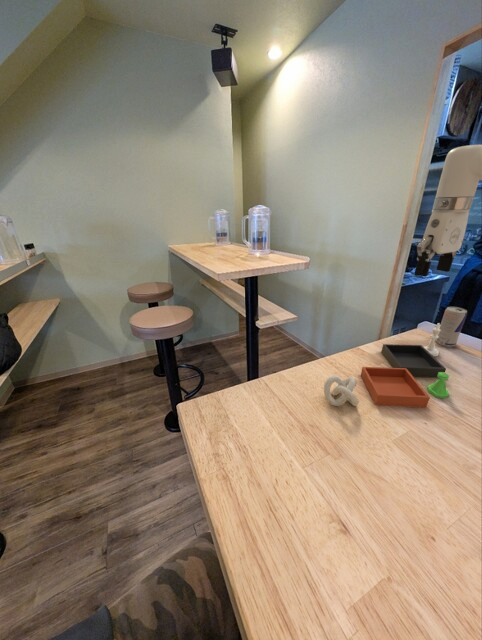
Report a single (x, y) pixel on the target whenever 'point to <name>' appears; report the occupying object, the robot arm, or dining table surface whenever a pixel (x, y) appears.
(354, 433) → the dining table surface
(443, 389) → the game piece
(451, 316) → the energy drink
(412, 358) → the charcoal bin
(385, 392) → the terracotta bin
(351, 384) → the knot
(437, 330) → the chess piece
